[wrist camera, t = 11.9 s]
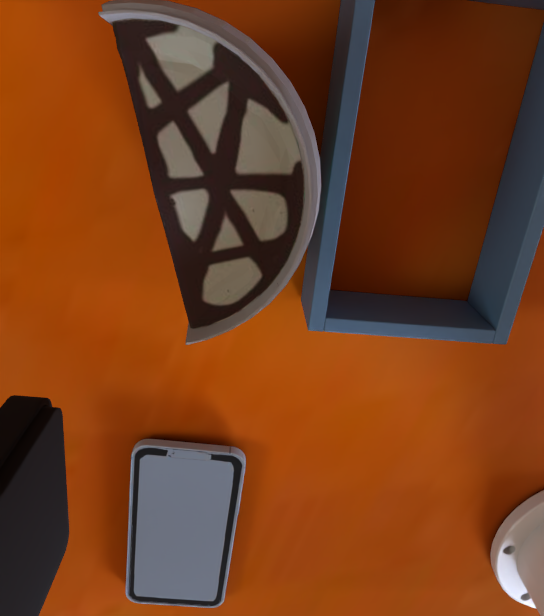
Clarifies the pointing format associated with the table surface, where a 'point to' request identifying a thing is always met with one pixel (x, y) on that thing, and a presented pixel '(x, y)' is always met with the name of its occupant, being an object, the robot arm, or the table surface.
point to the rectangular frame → (498, 240)
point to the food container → (219, 157)
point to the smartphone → (182, 521)
